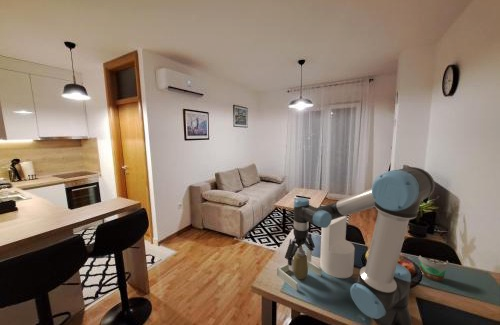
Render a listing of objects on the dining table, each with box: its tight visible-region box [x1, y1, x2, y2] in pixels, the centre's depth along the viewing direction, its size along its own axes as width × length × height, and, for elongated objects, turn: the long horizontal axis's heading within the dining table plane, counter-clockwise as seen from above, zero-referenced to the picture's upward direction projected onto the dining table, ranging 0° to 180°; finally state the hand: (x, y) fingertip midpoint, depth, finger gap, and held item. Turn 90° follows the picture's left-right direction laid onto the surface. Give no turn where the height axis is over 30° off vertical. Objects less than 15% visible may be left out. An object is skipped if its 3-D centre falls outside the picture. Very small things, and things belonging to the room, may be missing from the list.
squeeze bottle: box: [292, 245, 309, 280], centre depth 110 cm, size 8×8×18 cm
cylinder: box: [319, 216, 356, 279], centre depth 115 cm, size 17×17×28 cm
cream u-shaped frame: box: [276, 260, 323, 292], centre depth 111 cm, size 14×19×4 cm
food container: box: [417, 255, 450, 283], centre depth 107 cm, size 12×6×10 cm, turn 65°
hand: (300, 265), depth 110 cm, fingers open, 13 cm apart
